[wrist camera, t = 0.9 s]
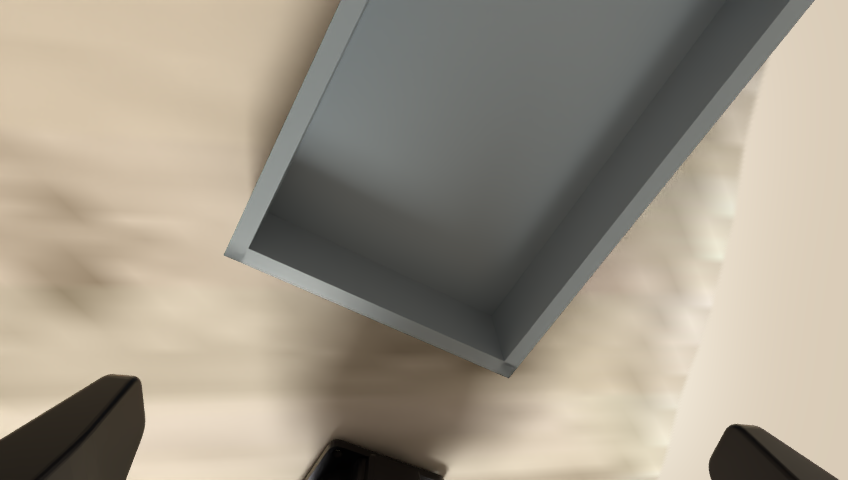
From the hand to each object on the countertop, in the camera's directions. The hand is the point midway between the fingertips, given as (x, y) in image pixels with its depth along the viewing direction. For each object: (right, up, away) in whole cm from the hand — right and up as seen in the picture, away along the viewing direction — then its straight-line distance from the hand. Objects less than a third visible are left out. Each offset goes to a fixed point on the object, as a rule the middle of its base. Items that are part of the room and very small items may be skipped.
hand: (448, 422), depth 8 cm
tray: (+2, +8, +11) cm, 13 cm away
